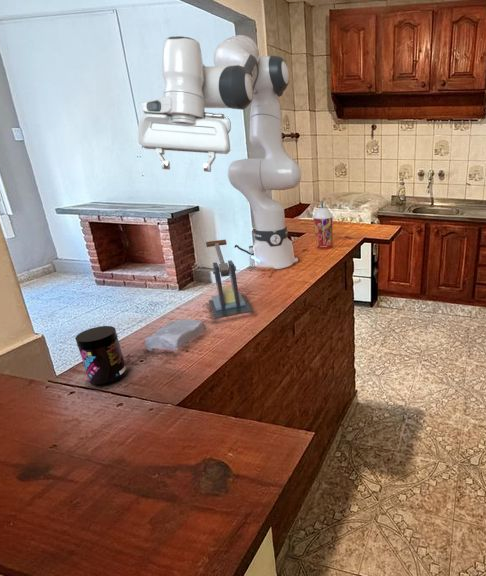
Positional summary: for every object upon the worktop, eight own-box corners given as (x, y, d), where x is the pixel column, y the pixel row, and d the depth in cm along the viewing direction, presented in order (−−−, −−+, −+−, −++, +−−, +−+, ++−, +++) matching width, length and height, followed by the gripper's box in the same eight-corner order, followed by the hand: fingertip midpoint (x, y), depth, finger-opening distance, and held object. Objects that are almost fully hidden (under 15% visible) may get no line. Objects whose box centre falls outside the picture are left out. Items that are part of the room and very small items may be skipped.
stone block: (144, 358, 92) (179, 354, 90) (136, 339, 91) (172, 335, 88) (177, 336, 103) (210, 332, 101) (171, 319, 102) (204, 314, 99)
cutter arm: (206, 246, 117) (205, 239, 115) (225, 243, 119) (225, 237, 117) (215, 278, 108) (214, 271, 106) (236, 274, 110) (235, 268, 109)
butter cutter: (209, 304, 117) (201, 259, 112) (243, 298, 121) (237, 254, 117) (215, 322, 106) (206, 273, 101) (253, 315, 110) (247, 267, 105)
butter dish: (211, 298, 118) (209, 286, 117) (239, 293, 121) (237, 282, 120) (216, 310, 110) (214, 298, 108) (245, 305, 113) (243, 292, 112)
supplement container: (97, 371, 84) (84, 327, 81) (132, 367, 86) (120, 324, 82) (83, 390, 78) (68, 343, 74) (121, 385, 79) (107, 339, 76)
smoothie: (335, 248, 172) (333, 202, 165) (316, 250, 171) (312, 203, 163) (332, 244, 180) (330, 199, 173) (314, 245, 178) (311, 200, 171)
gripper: (232, 118, 100) (233, 174, 102) (143, 110, 96) (146, 169, 98) (228, 111, 94) (230, 171, 96) (133, 102, 90) (137, 165, 92)
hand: (186, 170), depth 97 cm, fingers open, 8 cm apart
